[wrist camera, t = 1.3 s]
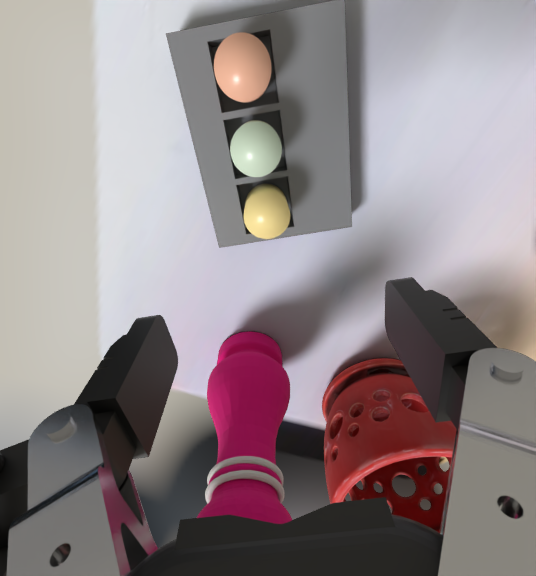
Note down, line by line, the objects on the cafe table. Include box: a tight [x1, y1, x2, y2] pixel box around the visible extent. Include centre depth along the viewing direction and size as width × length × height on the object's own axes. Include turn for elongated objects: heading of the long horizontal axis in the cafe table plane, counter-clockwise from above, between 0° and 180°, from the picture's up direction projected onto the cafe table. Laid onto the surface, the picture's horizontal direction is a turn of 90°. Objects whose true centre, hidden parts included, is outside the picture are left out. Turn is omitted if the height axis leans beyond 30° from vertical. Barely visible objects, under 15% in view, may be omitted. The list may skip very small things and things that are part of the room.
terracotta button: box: [214, 32, 271, 103], centre depth 18 cm, size 3×3×3 cm
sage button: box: [230, 120, 282, 177], centre depth 20 cm, size 3×3×3 cm
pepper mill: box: [197, 331, 292, 524], centre depth 23 cm, size 7×7×20 cm
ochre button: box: [244, 183, 290, 239], centre depth 22 cm, size 3×3×3 cm
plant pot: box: [322, 358, 457, 533], centre depth 30 cm, size 13×13×12 cm
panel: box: [166, 0, 352, 248], centre depth 22 cm, size 10×13×2 cm
